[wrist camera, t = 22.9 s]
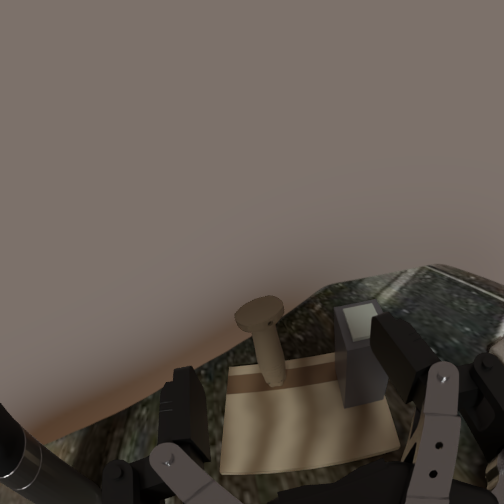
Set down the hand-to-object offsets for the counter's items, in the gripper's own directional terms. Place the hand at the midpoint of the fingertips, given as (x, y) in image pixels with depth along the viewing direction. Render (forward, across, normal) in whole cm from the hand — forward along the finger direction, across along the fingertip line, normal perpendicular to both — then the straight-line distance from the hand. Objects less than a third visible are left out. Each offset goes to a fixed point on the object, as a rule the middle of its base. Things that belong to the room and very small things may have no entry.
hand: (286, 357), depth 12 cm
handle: (+21, 0, +29) cm, 36 cm away
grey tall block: (+16, -12, +29) cm, 35 cm away
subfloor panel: (+15, -3, +30) cm, 34 cm away
